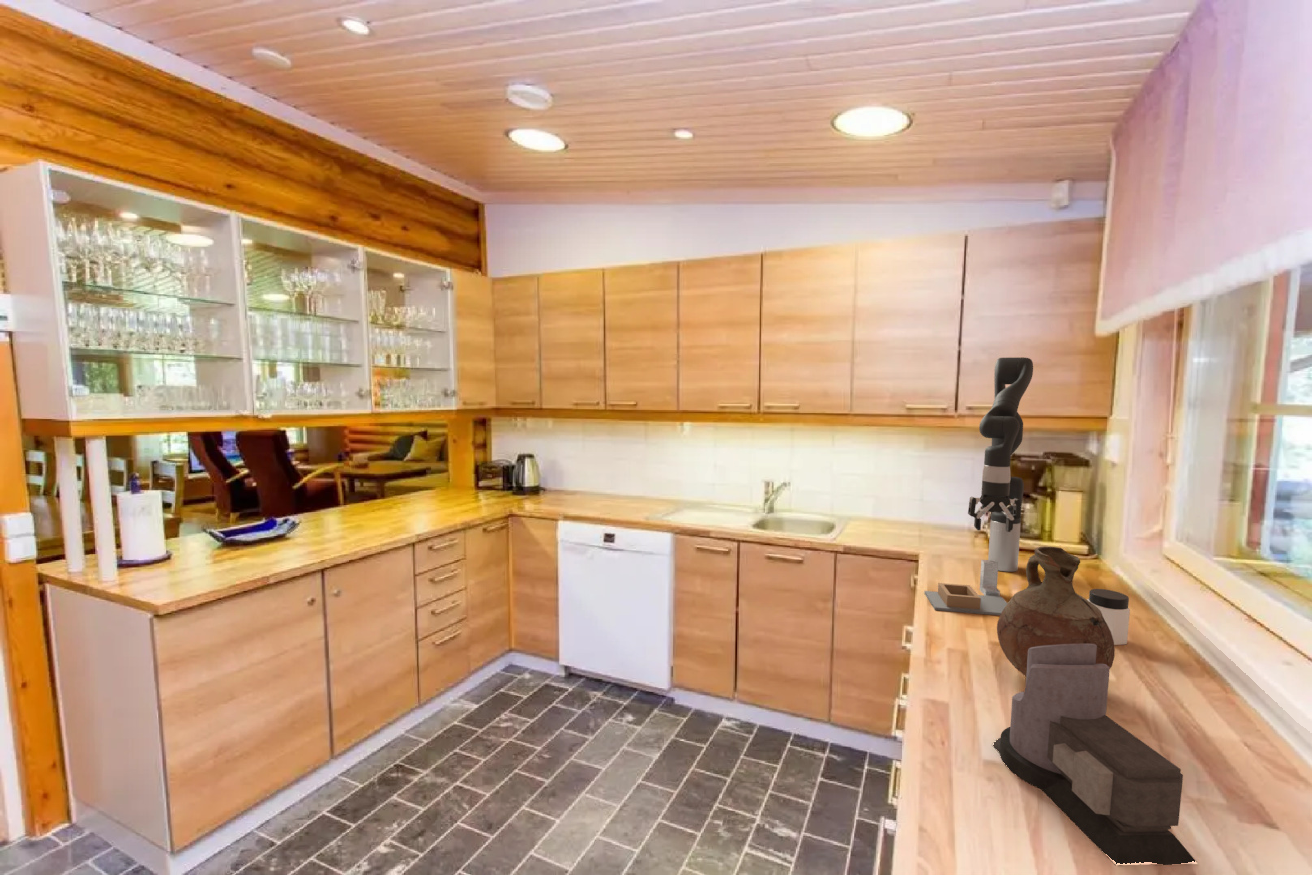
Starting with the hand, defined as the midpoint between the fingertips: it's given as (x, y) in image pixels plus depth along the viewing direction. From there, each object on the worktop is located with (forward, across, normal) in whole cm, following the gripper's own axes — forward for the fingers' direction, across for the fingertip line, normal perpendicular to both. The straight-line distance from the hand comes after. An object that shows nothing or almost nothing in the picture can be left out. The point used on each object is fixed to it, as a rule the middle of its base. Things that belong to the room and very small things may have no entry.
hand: (992, 530), depth 183 cm
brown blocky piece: (+20, +16, +96) cm, 100 cm away
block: (+20, 0, +2) cm, 20 cm away
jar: (+20, -18, +30) cm, 41 cm away
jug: (+20, +6, +59) cm, 62 cm away
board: (+20, +10, +13) cm, 26 cm away
